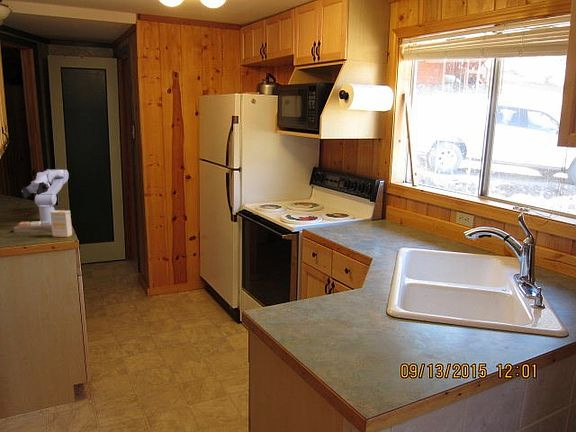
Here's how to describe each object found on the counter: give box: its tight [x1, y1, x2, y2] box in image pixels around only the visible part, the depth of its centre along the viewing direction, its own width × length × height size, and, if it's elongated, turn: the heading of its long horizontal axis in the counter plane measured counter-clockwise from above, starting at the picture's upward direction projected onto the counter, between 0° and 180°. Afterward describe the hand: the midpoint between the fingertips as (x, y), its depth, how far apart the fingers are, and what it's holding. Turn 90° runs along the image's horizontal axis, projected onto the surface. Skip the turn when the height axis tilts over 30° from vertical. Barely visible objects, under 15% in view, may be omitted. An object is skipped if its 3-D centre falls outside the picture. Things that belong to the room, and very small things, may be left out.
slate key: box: [42, 221, 51, 225], centre depth 263 cm, size 4×4×2 cm
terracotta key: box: [18, 221, 31, 226], centre depth 260 cm, size 4×4×2 cm
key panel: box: [13, 221, 52, 234], centre depth 262 cm, size 13×18×2 cm
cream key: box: [30, 220, 41, 226], centre depth 261 cm, size 4×4×2 cm
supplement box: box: [50, 209, 73, 238], centre depth 247 cm, size 8×5×13 cm, turn 84°
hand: (30, 195), depth 256 cm, fingers open, 7 cm apart
